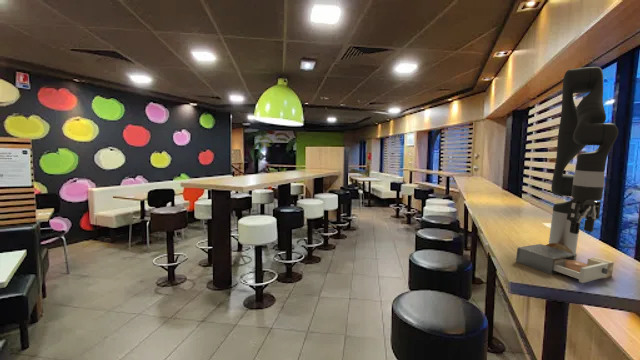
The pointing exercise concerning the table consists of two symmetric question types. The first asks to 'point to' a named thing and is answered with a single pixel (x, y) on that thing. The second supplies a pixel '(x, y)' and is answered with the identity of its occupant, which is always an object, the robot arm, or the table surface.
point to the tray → (582, 271)
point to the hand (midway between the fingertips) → (581, 232)
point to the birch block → (598, 260)
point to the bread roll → (559, 247)
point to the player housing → (542, 257)
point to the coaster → (574, 265)
